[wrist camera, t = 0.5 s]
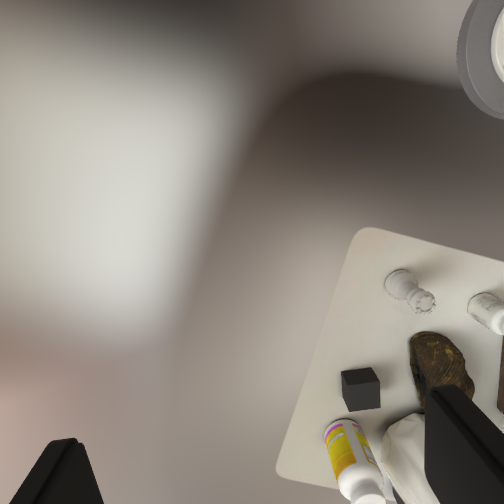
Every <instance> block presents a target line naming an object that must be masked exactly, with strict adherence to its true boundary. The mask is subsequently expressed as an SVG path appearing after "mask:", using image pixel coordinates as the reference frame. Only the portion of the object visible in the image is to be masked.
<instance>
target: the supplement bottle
mask: <svg viewBox="0 0 504 504" xmlns="http://www.w3.org/2000/svg"><path fill="white" fill-rule="evenodd" d="M324 439H325V444H326V447H327V450H328V453H329V457H330V460H331V463H332V466H333V470H334V473H335V476H336V480H337V483H338V486H339V489H340V491H341V493H342V494H343V496H344V497H345V498H347V499H348V500H350V501H351V504H386V500H385V497H384V495H383V493H382V488H383V476H382V474H381V471H380V469H379V467H378V465H377V463H376V461H375V458H374V456H373V454H372V452H371V449H370V447H369V445H368V443H367V440H366V438H365V436H364V434H363V432H362V430H361V428H360V426H359V425H358V424H357V423H355V422H354V421H351V420H338V421H335V422H333V423H332V424H331V425H329V426H328V428H327V429H326V431H325V435H324Z"/></svg>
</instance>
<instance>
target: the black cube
mask: <svg viewBox="0 0 504 504" xmlns="http://www.w3.org/2000/svg"><path fill="white" fill-rule="evenodd" d="M341 377H342V392H343V398H344V401H345V403H346V405H347V408H348V410H349V412H353V411H360V410H367V409H375V408H380V381H379V379H378V378H377V376H376V374H375V373H374V371H373V370H372V368H364V369H357V370H350V371H343V372H341Z"/></svg>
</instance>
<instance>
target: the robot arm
mask: <svg viewBox="0 0 504 504" xmlns="http://www.w3.org/2000/svg"><path fill="white" fill-rule="evenodd" d="M491 57H492V62H493V66H494V69H495V71H496V73H497V75H498V76H499V78H500V79H501V80H502V82H503V83H504V7H503V9H502V10H501V12H500V14H499V16H498V18H497V21H496V23H495V26H494V29H493V34H492V38H491ZM424 472H425V476H426V479H427V481H428V484H429V486H430V487H431V489H432V491H433V493H434V494H435V496H436V498H437V499H438V501H439V503H440V504H504V433H502V432H501V431H500V430H499V429H498V428H497V427H496V426H495V424H494V423H493V422H492V421H491V420H490V419H489V418H488V417H487V416H486V415H485V414H484V413H483V412H482V411H481V410H480V409H479V408H478V407H477V406H476V405H475V404H474V402H473V401H472V400H471V399H470V398H469V397H468V396H467V395H466V394H465V393H464V392H463V391H462V390H461V389H460V388H459V387H458V386H457V385H455V384H447V385H440V386H434V387H432V388H431V389H430V393H427V394H426V395H425V439H424ZM9 504H104V502H103V500H102V497H101V494H100V491H99V488H98V485H97V482H96V479H95V476H94V473H93V471H92V467H91V464H90V461H89V459H88V456H87V453H86V450H85V447H84V445H83V444H82V443H78V441H77V439H75V438H68V439H61V440H54V441H51V442H50V443H49V444H48V445H47V446H46V448H45V449H44V451H43V453H42V454H41V456H40V457H39V459H38V460H37V462H36V463H35V465H34V467H33V468H32V469H31V471H30V472H29V474H28V476H27V477H26V479H25V480H24V482H23V483H22V485H21V486H20V488H19V489H18V491H17V493H16V494H15V495H14V497H13V499H12V500H11V502H10V503H9Z"/></svg>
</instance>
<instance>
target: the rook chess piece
mask: <svg viewBox="0 0 504 504" xmlns="http://www.w3.org/2000/svg"><path fill="white" fill-rule="evenodd" d="M385 287H386V291H387V292H388V294H389V295H391V296H392V297H394V298H395V299H398V300H406V301H407V303H408V304H409V305H410V306H411V309H412V310H413V311H414V312H416V313H419V314H425V313H426V312H428V313H431V312H432V311H431V309H432V308H435V307H436V305H435V304H434V303H435V302H436V301H435V299H434V296H433V294H432V293H430V292H428V291H425V290H423V289H421V288H419V287H418V284H417V280H416V279H415V277H414V276H413V275H412V274H411V273H410V272H408V271H405V270H399V271H395V272H394V273H392V274H390V276H389V277H388V278H387V280H386V284H385Z"/></svg>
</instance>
